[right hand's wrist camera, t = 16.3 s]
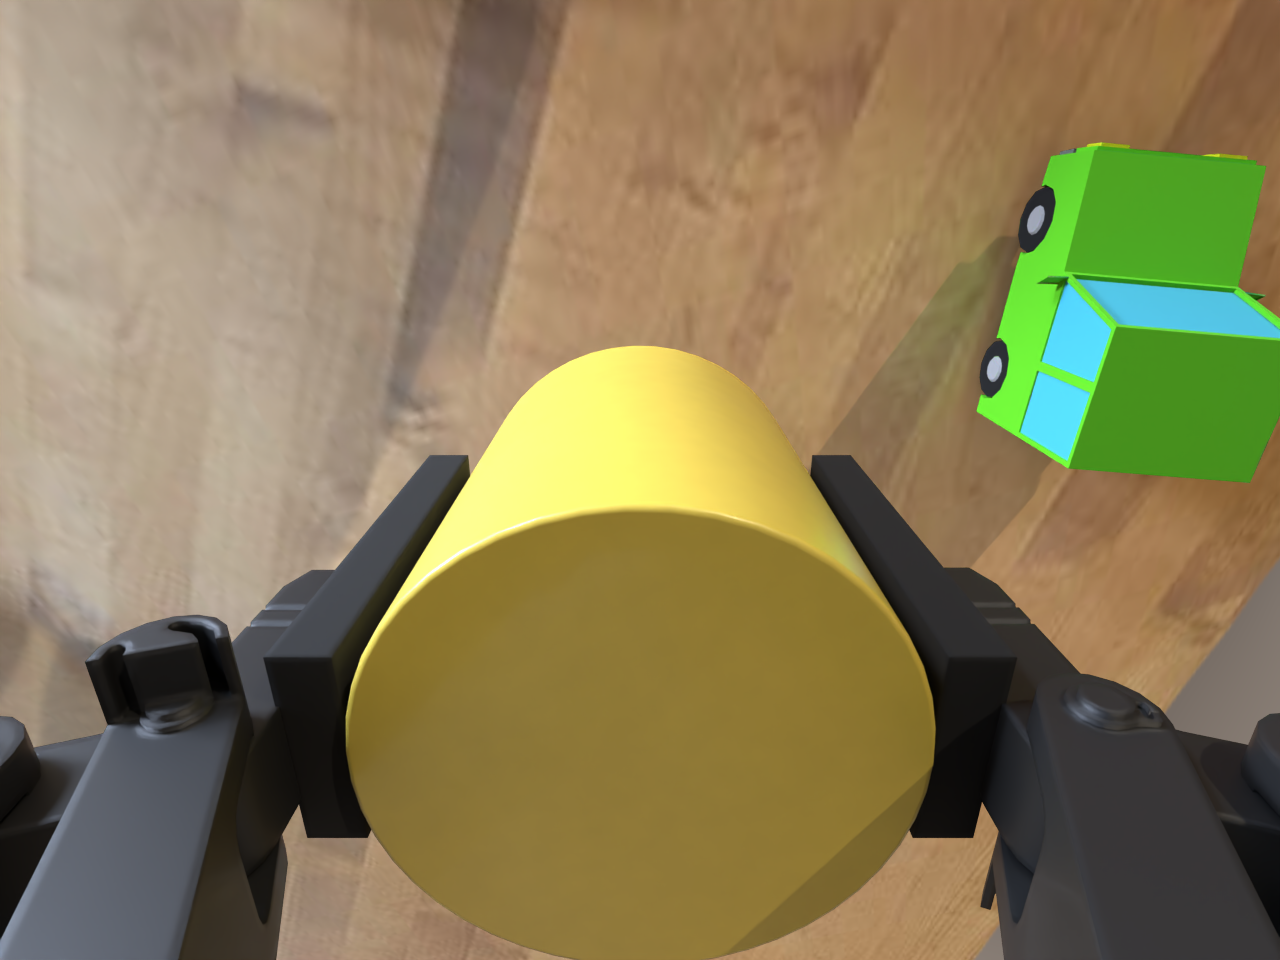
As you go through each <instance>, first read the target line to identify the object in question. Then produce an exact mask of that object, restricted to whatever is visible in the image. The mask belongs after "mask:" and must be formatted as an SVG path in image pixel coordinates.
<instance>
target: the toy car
mask: <svg viewBox="0 0 1280 960" xmlns="http://www.w3.org/2000/svg"><path fill="white" fill-rule="evenodd" d="M1129 147H1130V145H1123V144H1112V143H1095V144H1088V145H1087V147H1084V148H1077V149H1070V150H1066V151H1061V152H1060V155H1056V156H1051V158H1050V161H1049V164H1048V167H1047V171H1046V174H1045V177H1044V180H1043V183H1042V186H1043V187H1045V188H1042V189H1040V190H1038V191H1036V192H1035V194H1034V195H1033V196H1032V198H1031V199H1030V200H1029V201H1028V203H1027V204H1026V207H1025V209H1024V212H1023V214H1022V217H1021V219H1020V226H1019V233H1018V237H1019V242H1020V247H1021V248H1022V249H1023V250H1025V251H1026V252H1028V253H1023V252H1021V253H1020V256H1019V259H1018V262H1017V266H1016V269H1015V273H1014V277H1013V280H1012V284H1011V288H1010V291H1009V295H1008V299H1007V302H1006V306H1005V309H1004V313H1003V317H1002V320H1001V324H1000V328H999V331H998V335H997V338H1000V339H1002V340H1003V341H997V342H994V343H993V344H992V345H991V346H990V347H989V349H988V350H987V351H986V354H985V356H984V359H983V361H982V364H981V371H980V382H981V389H982V391H983V392H984V393H985V395H981V397H980V400H979V404H978V408H977V412H978V413H980V414H982V415H983V416H985V417H986V418H988V419H990V420H991V421H993V422H994V423H996V424H998V425H999V426H1001V427H1003V428H1004V429H1006V430H1007V431H1009V432H1011V433H1012V434H1014V435H1015V436H1017V437H1019V438H1020V439H1022V440H1023V441H1025V442H1027V443H1028V444H1030V445H1031V446H1033V447H1035V448H1036V449H1038V450H1040V451H1041V452H1043V453H1044V454H1046V455H1048V456H1049V457H1051V458H1052V459H1054V460H1056V461H1057V462H1059V463H1060V464H1062V465H1064V466H1065V467H1067V468H1070V469H1082V470H1095V471H1107V472H1120V473H1132V474H1145V475H1158V476H1170V477H1183V478H1195V479H1208V480H1221V481H1233V482H1246V483H1250V481H1251V479H1252V477H1253V475H1254V472H1255V470H1256V468H1257V466H1258V463H1259V461H1260V459H1261V457H1262V454H1263V452H1264V450H1265V448H1266V445H1267V443H1268V441H1269V439H1270V436H1271V434H1272V432H1273V430H1274V428H1275V425H1276V423H1277V421H1278V419H1279V416H1280V319H1279V318H1278V317H1277V316H1275V315H1274V314H1273V313H1272V312H1270V311H1269V310H1268V309H1266V308H1265V307H1264V306H1262V305H1261V304H1260V303H1258V302H1257V301H1256V300H1258V299H1261V298H1263V297H1265V295H1262V294H1255V293H1248V292H1244V291H1243V290H1241V289H1240V288H1239V287H1238V284H1239V280H1240V276H1241V272H1242V267H1243V263H1244V259H1245V255H1246V250H1247V246H1248V242H1249V238H1250V233H1251V229H1252V225H1253V221H1254V216H1255V212H1256V208H1257V203H1258V199H1259V195H1260V191H1261V186H1262V182H1263V178H1264V174H1265V169H1266V166H1260V165H1256V163H1257V161H1255V160H1247V157H1248V156H1239V155H1228V154H1211V155H1191V154H1181V153H1170V152H1160V151H1149V150H1139V149H1129ZM1050 187H1051V188H1050Z"/></svg>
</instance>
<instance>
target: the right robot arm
mask: <svg viewBox="0 0 1280 960" xmlns="http://www.w3.org/2000/svg"><path fill="white" fill-rule="evenodd" d="M810 476H811V478H812V480H813V481H814V483H815V485H816V486H817V488H818V489H819V491H820V493H821V494H822V496H823V497H824V499H825V501H826V502H827V504H828V506H829V507H830V509H831V510H832V512H833V514H834V515H835V517H836V518H837V520H838V522H839V523H840V525H841V526H842V528H843V530H844V531H845V533H846V535H847V536H848V538H849V539H850V541H851V543H852V544H853V546H854V547H855V549H856V551H857V552H858V554H859V556H860V557H861V559H862V560H863V562H864V564H865V565H866V567H867V568H868V570H869V572H870V573H871V575H872V577H873V578H874V580H875V581H876V583H877V585H878V586H879V588H880V589H881V591H882V593H883V594H884V596H885V598H886V599H887V601H888V602H889V604H890V606H891V607H892V609H893V610H894V612H895V614H896V615H897V617H898V619H899V620H900V622H901V623H902V625H903V627H904V628H905V630H906V631H907V633H908V635H909V636H910V638H911V641H912V643H913V645H914V647H915V649H916V651H917V653H918V655H919V657H920V659H921V662H922V664H923V666H924V669H925V672H926V676H927V680H928V683H929V687H930V690H931V694H932V697H933V707H934V717H935V726H936V733H935V749H934V763H933V767H932V771H931V776H930V780H929V784H928V788H927V792H926V795H925V797H924V799H923V802H922V804H921V807H920V809H919V812H918V814H917V817H916V819H915V821H914V822H913V824H912V826H911V827H910V829H909V830H910V832H911V835H912V837H913V838H973V836H974V832H975V828H976V824H977V820H978V816H979V812H980V808H981V804H982V802H983V804H984V806H985V808H986V809H987V811H988V813H989V815H990V816H991V818H992V820H993V822H994V823H995V825H996V827H997V829H998V830H999V832H998V836H997V840H996V844H995V848H994V851H993V855H992V859H991V863H990V867H989V870H988V874H987V878H986V882H985V886H984V889H983V894H982V901H981V907H983V908H986V909H989V910H991V906H992V902H993V899H994V895H995V894H996V897H997V905H998V913H999V921H1000V929H1001V938H1002V946H1003V954H1004V960H1280V713H1277V714H1269V715H1267V716H1266V717H1264V718H1263V719H1261V720H1260V721H1258V723H1257V725H1256V728H1255V730H1254V733H1253V735H1252V737H1251V740H1250V742H1249V744H1248V745H1246V744H1241V743H1236V742H1231V741H1226V740H1221V739H1216V738H1212V737H1207V736H1202V735H1197V734H1192V733H1187V732H1183V731H1179V730H1175V728H1174V726H1173V724H1172V723H1171V722H1170V720H1169V719H1168V718H1167V716H1166V715H1165V714H1164V713H1163V711H1162V710H1161V709H1160V708H1159V707H1158V706H1156V705H1155V704H1153V703H1152V702H1151V701H1149V700H1148V699H1147V698H1145V697H1144V696H1142V695H1141V694H1140V693H1138V692H1135V691H1133V690H1131V689H1129V688H1127V687H1125V686H1123V685H1121V684H1118V683H1116V682H1114V681H1110V680H1107V679H1103V678H1100V677H1096V676H1093V675H1088V674H1080V673H1079V672H1078V670H1077V669H1076V668H1075V667H1074V666H1073V665H1072V664H1071V663H1070V662H1069V661H1068V660H1067V659H1066V658H1065V657H1064V655H1063V654H1062V653H1061V652H1060V651H1059V650H1058V649H1057V648H1056V647H1055V646H1054V645H1053V644H1052V643H1051V641H1050V640H1049V639H1048V638H1047V637H1046V636H1045V635H1044V634H1043V633H1042V632H1041V631H1040V630H1039V629H1038V628H1037V626H1036V625H1035V624H1031V623H1030V619H1029V618H1028V617H1027V616H1026V615H1025V614H1024V612H1023V611H1022V610H1021V609H1020V608H1016V607H1015V603H1014V602H1013V601H1012V600H1011V599H1010V597H1009V596H1008V595H1007V594H1006V593H1005V592H1004V591H1003V590H1002V589H1001V588H1000V587H999V586H998V585H997V584H996V583H994V582H992V581H991V580H989V579H987V578H986V577H984V576H982V575H980V574H979V573H977V572H975V571H974V570H972V569H970V568H943V567H942V565H941V564H940V563H939V562H938V561H937V559H936V558H935V557H934V556H933V554H932V553H931V552H930V551H929V550H928V548H927V547H926V546H925V545H924V544H923V542H922V541H921V540H920V539H919V538H918V536H917V535H916V534H915V533H914V532H913V530H912V529H911V528H910V527H909V525H908V524H907V523H906V522H905V521H904V519H903V518H902V517H901V516H900V515H899V513H898V512H897V511H896V510H895V509H894V507H893V506H892V505H891V504H890V502H889V501H888V500H887V499H886V498H885V496H884V495H883V494H882V493H881V492H880V490H879V489H878V488H877V487H876V486H875V484H874V483H873V482H872V481H871V479H870V478H869V477H868V476H867V475H866V473H865V472H864V471H863V470H862V469H861V467H860V466H859V465H858V464H857V463H856V461H855V460H854V459H853V458H852V457H851V455H812V465H811V475H810ZM469 478H470V470H469V460H468V455H430V456H429V457H428V458H427V459H426V461H425V462H424V463H423V464H422V466H421V467H420V468H419V469H418V470H417V472H416V473H415V474H414V475H413V476H412V478H411V479H410V480H409V481H408V482H407V484H406V485H405V486H404V487H403V489H402V490H401V491H400V492H399V493H398V495H397V496H396V497H395V498H394V499H393V501H392V502H391V503H390V504H389V505H388V507H387V508H386V509H385V510H384V512H383V513H382V514H381V515H380V516H379V518H378V519H377V520H376V521H375V522H374V524H373V525H372V526H371V527H370V528H369V530H368V531H367V532H366V533H365V535H364V536H363V537H362V538H361V539H360V541H359V542H358V543H357V544H356V545H355V547H354V548H353V549H352V550H351V551H350V553H349V554H348V555H347V556H346V558H345V559H344V560H343V561H342V562H341V564H340V565H339V566H338V567H337V568H336V570H311V571H309V572H308V573H306V574H304V575H303V576H301V577H299V578H298V579H296V580H294V581H292V582H291V583H289V584H287V585H286V586H284V587H283V588H282V589H281V590H280V591H279V592H278V593H277V594H276V596H275V597H274V598H273V599H272V600H271V601H270V602H269V603H268V604H267V605H266V610H262V611H261V612H260V613H259V614H258V615H257V616H256V617H255V618H254V619H253V620H252V622H251V626H250V627H246V628H245V629H244V630H243V631H242V632H241V633H240V635H239V636H238V637H237V638H236V639H235V640H234V641H233V642H232V643H231V639H230V635H229V631H228V628H227V625H226V624H224V623H223V622H222V621H220V620H219V619H217V618H215V617H208V616H202V615H188V616H176V617H170V618H166V619H162V620H158V621H154V622H150V623H146V624H144V625H141V626H139V627H136V628H134V629H131V630H129V631H126V632H124V633H122V634H120V635H118V636H116V637H115V638H113V639H112V640H110V641H108V642H107V643H105V644H103V645H102V646H100V647H99V648H98V649H97V650H96V651H95V652H94V653H93V654H92V655H91V656H90V657H89V658H88V659H87V660H86V661H85V664H86V666H87V669H88V672H89V675H90V677H91V680H92V683H93V686H94V689H95V691H96V694H97V697H98V700H99V702H100V705H101V708H102V711H103V713H104V716H105V719H106V722H107V724H108V725H107V727H106V729H105V731H104V733H102V734H98V735H94V736H89V737H84V738H79V739H74V740H69V741H65V742H60V743H55V744H50V745H45V746H40V747H35V748H33V745H32V743H31V740H30V738H29V736H28V733H27V731H26V728H25V726H24V724H22V723H21V722H19V721H18V720H16V719H14V718H13V717H4V716H0V960H276V956H277V948H278V940H279V932H280V923H281V915H282V907H283V899H284V891H285V882H286V874H287V866H288V861H287V854H286V848H285V844H284V840H283V836H282V833H283V832H284V830H285V828H286V826H287V824H288V823H289V821H290V819H291V817H292V816H293V814H294V812H295V810H296V809H297V807H298V805H299V806H300V810H301V814H302V818H303V822H304V826H305V830H306V834H307V838H368V836H369V834H370V831H371V828H370V826H369V824H368V822H367V820H366V818H365V816H364V814H363V812H362V811H361V808H360V805H359V802H358V800H357V797H356V794H355V791H354V788H353V785H352V782H351V777H350V772H349V766H348V760H347V754H346V712H347V707H348V701H349V695H350V689H351V684H352V682H353V679H354V676H355V673H356V670H357V667H358V664H359V662H360V659H361V656H362V654H363V652H364V650H365V648H366V647H367V645H368V643H369V641H370V639H371V638H372V636H373V634H374V632H375V630H376V628H377V627H378V625H379V623H380V622H381V620H382V618H383V617H384V615H385V614H386V612H387V610H388V609H389V607H390V605H391V604H392V602H393V601H394V599H395V597H396V596H397V594H398V593H399V591H400V589H401V588H402V586H403V584H404V583H405V581H406V580H407V578H408V576H409V575H410V573H411V571H412V570H413V568H414V567H415V565H416V563H417V562H418V560H419V559H420V557H421V555H422V554H423V552H424V550H425V549H426V547H427V546H428V544H429V542H430V541H431V539H432V537H433V536H434V534H435V533H436V531H437V529H438V528H439V526H440V525H441V523H442V521H443V520H444V518H445V516H446V515H447V513H448V512H449V510H450V508H451V507H452V505H453V503H454V502H455V500H456V499H457V497H458V495H459V494H460V492H461V491H462V489H463V487H464V486H465V484H466V482H467V481H468V479H469Z"/></svg>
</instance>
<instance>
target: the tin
mask: <svg viewBox="0 0 1280 960" xmlns="http://www.w3.org/2000/svg"><path fill="white" fill-rule="evenodd" d="M935 733H936V726H935V717H934V707H933V697H932V694H931V690H930V687H929V683H928V680H927V676H926V672H925V669H924V666H923V664H922V662H921V659H920V657H919V655H918V653H917V651H916V649H915V647H914V645H913V643H912V641H911V638H910V636H909V635H908V633H907V631H906V630H905V628H904V627H903V625H902V623H901V622H900V620H899V619H898V617H897V615H896V614H895V612H894V610H893V609H892V607H891V606H890V604H889V602H888V601H887V599H886V598H885V596H884V594H883V593H882V591H881V589H880V588H879V586H878V585H877V583H876V581H875V580H874V578H873V577H872V575H871V573H870V572H869V570H868V568H867V567H866V565H865V564H864V562H863V560H862V559H861V557H860V556H859V554H858V552H857V551H856V549H855V547H854V546H853V544H852V543H851V541H850V539H849V538H848V536H847V535H846V533H845V531H844V530H843V528H842V526H841V525H840V523H839V522H838V520H837V518H836V517H835V515H834V514H833V512H832V510H831V509H830V507H829V506H828V504H827V502H826V501H825V499H824V497H823V496H822V494H821V493H820V491H819V489H818V488H817V486H816V485H815V483H814V481H813V480H812V478H811V476H810V475H809V473H808V472H807V470H806V468H805V467H804V465H803V464H802V462H801V460H800V459H799V457H798V455H797V454H796V452H795V451H794V449H793V447H792V446H791V444H790V443H789V441H788V439H787V438H786V436H785V434H784V433H783V431H782V430H781V428H780V426H779V425H778V423H777V422H776V420H775V418H774V417H773V416H772V414H771V413H770V411H769V410H768V408H767V407H766V405H765V404H764V403H763V402H762V401H761V399H760V398H759V397H758V396H757V395H756V394H755V393H754V392H753V391H752V390H751V389H750V388H749V387H748V386H747V385H745V384H744V383H743V382H742V381H741V380H739V379H738V378H737V377H736V376H735V375H733V374H731V373H730V372H728V371H726V370H725V369H723V368H722V367H720V366H718V365H717V364H714V363H712V362H710V361H708V360H705V359H703V358H701V357H699V356H696V355H693V354H689V353H686V352H682V351H679V350H675V349H668V348H662V347H655V346H628V347H619V348H611V349H607V350H602V351H598V352H594V353H590V354H588V355H585V356H583V357H580V358H577V359H575V360H572V361H570V362H568V363H566V364H565V365H563V366H561V367H559V368H557V369H556V370H554V371H552V372H551V373H549V374H548V375H547V376H545V377H544V378H543V379H541V380H540V381H539V382H537V383H536V384H535V385H534V386H533V387H532V388H531V389H530V390H529V391H528V392H527V393H526V394H525V395H524V396H523V397H522V398H521V399H520V400H519V401H518V403H517V404H516V405H515V406H514V408H513V409H512V410H511V412H510V413H509V414H508V416H507V418H506V419H505V421H504V423H503V424H502V426H501V427H500V429H499V431H498V432H497V434H496V435H495V437H494V439H493V440H492V442H491V444H490V445H489V447H488V448H487V450H486V452H485V453H484V455H483V457H482V458H481V460H480V461H479V463H478V465H477V466H476V468H475V469H474V471H473V473H472V474H471V476H470V478H469V479H468V481H467V482H466V484H465V486H464V487H463V489H462V491H461V492H460V494H459V495H458V497H457V499H456V500H455V502H454V503H453V505H452V507H451V508H450V510H449V512H448V513H447V515H446V516H445V518H444V520H443V521H442V523H441V525H440V526H439V528H438V529H437V531H436V533H435V534H434V536H433V537H432V539H431V541H430V542H429V544H428V546H427V547H426V549H425V550H424V552H423V554H422V555H421V557H420V559H419V560H418V562H417V563H416V565H415V567H414V568H413V570H412V571H411V573H410V575H409V576H408V578H407V580H406V581H405V583H404V584H403V586H402V588H401V589H400V591H399V593H398V594H397V596H396V597H395V599H394V601H393V602H392V604H391V605H390V607H389V609H388V610H387V612H386V614H385V615H384V617H383V618H382V620H381V622H380V623H379V625H378V627H377V628H376V630H375V632H374V634H373V636H372V638H371V639H370V641H369V643H368V645H367V647H366V648H365V650H364V652H363V654H362V656H361V659H360V662H359V664H358V667H357V670H356V673H355V676H354V679H353V682H352V684H351V689H350V695H349V701H348V707H347V712H346V754H347V760H348V766H349V772H350V777H351V782H352V785H353V788H354V791H355V794H356V797H357V800H358V802H359V805H360V808H361V811H362V812H363V814H364V816H365V818H366V820H367V822H368V824H369V826H370V828H371V830H372V831H373V833H374V835H375V837H376V838H377V840H378V841H379V842H380V844H381V845H382V847H383V848H384V849H385V851H386V852H387V853H388V855H389V856H390V858H391V859H392V860H393V861H394V863H395V864H396V865H397V866H398V867H399V868H400V869H401V870H402V871H403V872H404V873H405V874H406V875H407V876H408V877H409V878H410V879H411V881H412V882H413V883H415V884H416V885H417V886H418V887H419V888H421V889H422V890H423V891H424V892H425V893H427V894H428V895H429V896H430V897H431V898H433V899H434V900H435V901H436V902H437V903H439V904H440V905H442V906H443V907H445V908H446V909H448V910H450V911H451V912H453V913H454V914H456V915H457V916H459V917H460V918H462V919H463V920H465V921H467V922H469V923H471V924H473V925H475V926H477V927H479V928H481V929H483V930H484V931H486V932H488V933H490V934H492V935H495V936H497V937H500V938H502V939H505V940H507V941H510V942H512V943H515V944H518V945H520V946H523V947H526V948H530V949H533V950H537V951H540V952H543V953H547V954H550V955H554V956H559V957H564V958H570V959H575V960H706V959H712V958H718V957H722V956H726V955H729V954H733V953H737V952H741V951H745V950H749V949H752V948H754V947H757V946H760V945H763V944H766V943H768V942H771V941H774V940H777V939H779V938H781V937H784V936H786V935H788V934H790V933H792V932H794V931H796V930H798V929H801V928H803V927H805V926H807V925H809V924H810V923H812V922H814V921H815V920H817V919H819V918H820V917H822V916H824V915H825V914H827V913H829V912H830V911H832V910H834V909H835V908H836V907H838V906H839V905H840V904H842V903H843V902H844V901H845V900H847V899H848V898H849V897H851V896H852V895H853V894H855V893H856V892H857V891H859V890H860V889H861V888H862V887H863V886H864V885H865V884H866V883H867V882H868V881H869V880H870V879H871V878H872V877H873V876H874V875H875V874H876V873H877V872H878V871H879V870H880V869H881V868H882V867H883V866H884V865H885V863H886V862H887V861H888V859H889V858H890V857H891V856H892V854H893V853H894V852H895V851H896V849H897V848H898V847H899V846H900V844H901V843H902V841H903V839H904V838H905V836H906V834H907V833H908V831H909V829H910V827H911V826H912V824H913V822H914V821H915V819H916V817H917V814H918V812H919V809H920V807H921V804H922V802H923V799H924V797H925V795H926V792H927V788H928V784H929V780H930V776H931V771H932V767H933V763H934V749H935Z"/></svg>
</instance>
